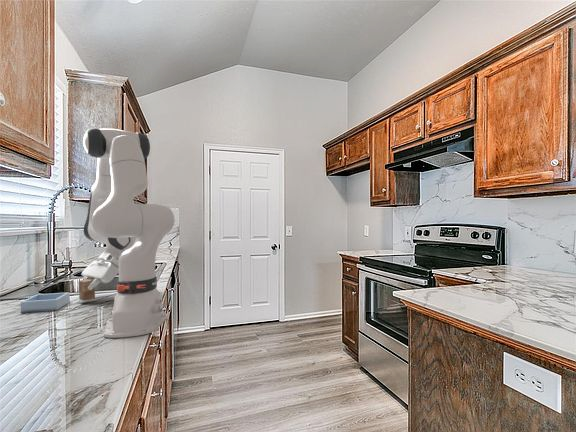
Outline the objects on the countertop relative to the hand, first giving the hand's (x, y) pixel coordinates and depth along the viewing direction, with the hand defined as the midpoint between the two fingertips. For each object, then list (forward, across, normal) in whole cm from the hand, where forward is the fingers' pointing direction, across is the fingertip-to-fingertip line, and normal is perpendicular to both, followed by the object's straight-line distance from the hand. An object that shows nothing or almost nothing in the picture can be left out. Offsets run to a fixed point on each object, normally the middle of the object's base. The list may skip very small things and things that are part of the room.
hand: (85, 288), depth 132 cm
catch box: (+12, -6, -4) cm, 14 cm away
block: (+3, 0, +4) cm, 4 cm away
